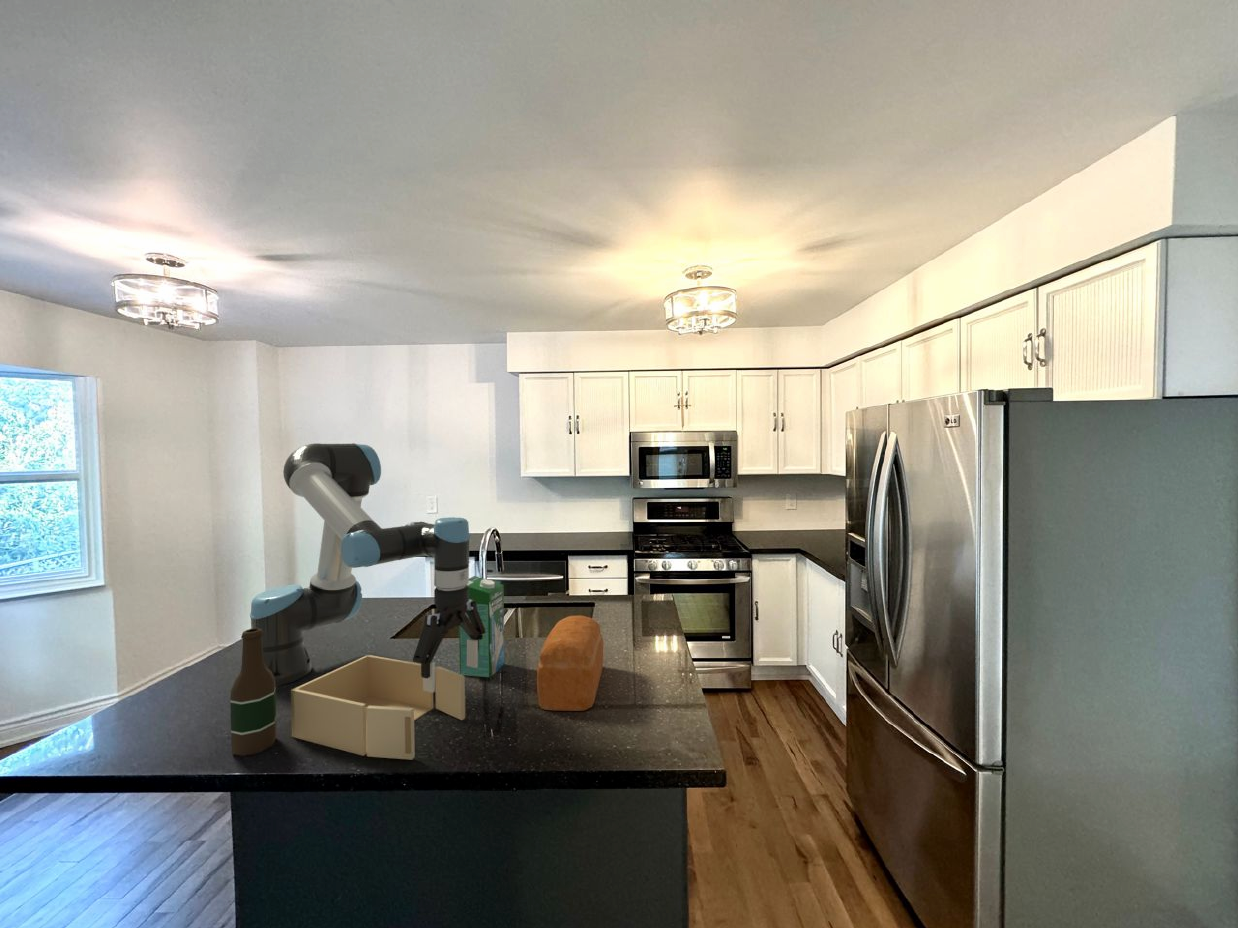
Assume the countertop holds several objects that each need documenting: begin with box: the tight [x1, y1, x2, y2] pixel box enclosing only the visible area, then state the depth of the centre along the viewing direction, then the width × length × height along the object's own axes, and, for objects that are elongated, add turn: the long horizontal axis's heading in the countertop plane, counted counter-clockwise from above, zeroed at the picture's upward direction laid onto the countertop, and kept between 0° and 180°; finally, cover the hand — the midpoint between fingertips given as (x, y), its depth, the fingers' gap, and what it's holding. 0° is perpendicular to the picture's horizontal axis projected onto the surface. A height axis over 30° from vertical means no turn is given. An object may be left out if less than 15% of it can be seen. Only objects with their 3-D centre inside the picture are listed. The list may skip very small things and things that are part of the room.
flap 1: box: [366, 706, 416, 761], centre depth 99 cm, size 1×9×10 cm, turn 83°
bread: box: [536, 614, 604, 712], centre depth 130 cm, size 14×26×16 cm, turn 176°
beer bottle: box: [229, 628, 278, 757], centre depth 104 cm, size 8×8×24 cm
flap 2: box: [435, 665, 466, 721], centre depth 116 cm, size 1×9×10 cm, turn 55°
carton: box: [290, 654, 434, 756], centre depth 113 cm, size 20×20×10 cm
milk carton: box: [458, 575, 505, 678], centre depth 140 cm, size 9×9×25 cm
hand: (451, 678), depth 116 cm, fingers open, 13 cm apart
